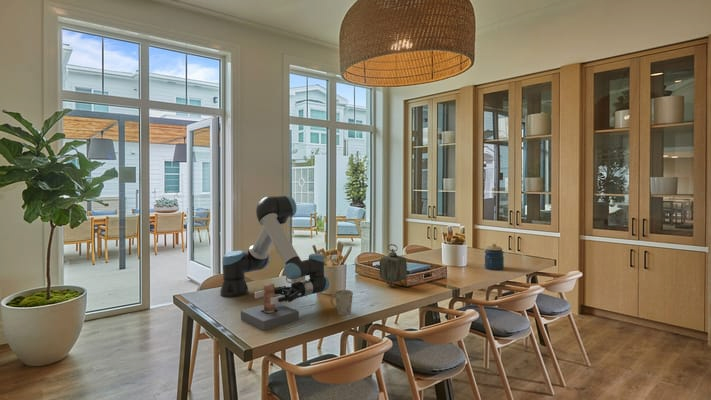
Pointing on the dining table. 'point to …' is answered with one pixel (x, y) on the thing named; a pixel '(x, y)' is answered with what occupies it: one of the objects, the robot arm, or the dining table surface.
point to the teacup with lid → (296, 280)
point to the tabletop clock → (393, 267)
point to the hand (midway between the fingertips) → (262, 298)
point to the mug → (343, 301)
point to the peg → (268, 298)
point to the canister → (494, 258)
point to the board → (269, 316)
